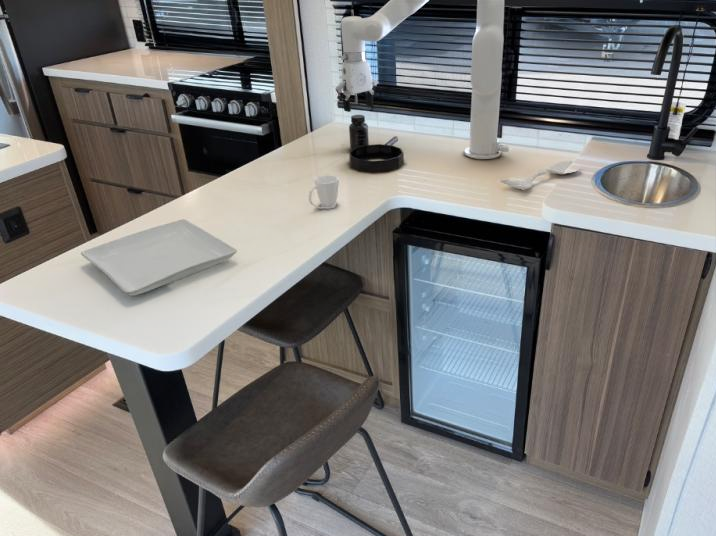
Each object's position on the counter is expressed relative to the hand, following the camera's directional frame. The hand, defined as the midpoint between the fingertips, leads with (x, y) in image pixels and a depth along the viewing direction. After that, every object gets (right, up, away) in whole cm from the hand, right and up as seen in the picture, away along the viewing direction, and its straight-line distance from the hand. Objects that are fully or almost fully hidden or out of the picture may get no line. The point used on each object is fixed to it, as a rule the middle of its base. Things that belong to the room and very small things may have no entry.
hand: (358, 108), depth 212 cm
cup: (-7, -41, -38) cm, 56 cm away
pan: (+8, -19, -2) cm, 20 cm away
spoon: (+60, -30, -22) cm, 71 cm away
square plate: (-43, -59, -66) cm, 99 cm away
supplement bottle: (0, -13, +8) cm, 15 cm away
